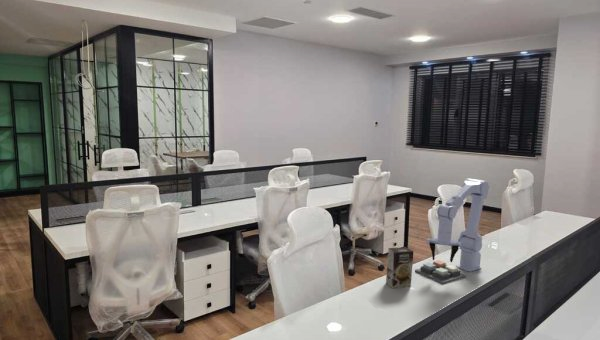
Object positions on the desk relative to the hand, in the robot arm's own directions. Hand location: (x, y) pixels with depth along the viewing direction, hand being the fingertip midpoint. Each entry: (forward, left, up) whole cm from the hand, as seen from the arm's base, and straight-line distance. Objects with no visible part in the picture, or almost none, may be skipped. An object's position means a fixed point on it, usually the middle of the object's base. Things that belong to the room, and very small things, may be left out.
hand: (442, 260), depth 185 cm
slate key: (0, -7, -7) cm, 10 cm away
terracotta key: (-7, -7, -7) cm, 12 cm away
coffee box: (+22, -5, -9) cm, 24 cm away
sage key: (0, 0, -7) cm, 7 cm away
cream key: (-7, 0, -7) cm, 10 cm away
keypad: (-4, -4, -9) cm, 10 cm away
